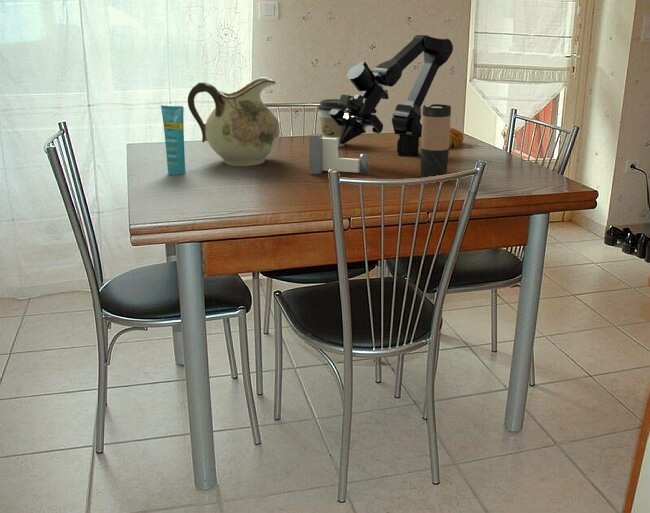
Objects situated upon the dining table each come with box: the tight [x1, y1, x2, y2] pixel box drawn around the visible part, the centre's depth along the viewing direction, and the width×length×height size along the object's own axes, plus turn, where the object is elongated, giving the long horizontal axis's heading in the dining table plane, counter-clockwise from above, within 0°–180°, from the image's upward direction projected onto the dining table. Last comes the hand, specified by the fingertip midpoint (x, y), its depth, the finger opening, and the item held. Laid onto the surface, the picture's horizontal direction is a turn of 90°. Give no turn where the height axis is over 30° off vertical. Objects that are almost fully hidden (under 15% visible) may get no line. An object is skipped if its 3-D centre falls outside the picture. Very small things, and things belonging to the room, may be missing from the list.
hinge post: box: [359, 153, 370, 175], centre depth 207 cm, size 2×2×6 cm
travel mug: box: [420, 103, 452, 178], centre depth 198 cm, size 8×8×20 cm
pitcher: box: [187, 76, 281, 167], centre depth 218 cm, size 22×24×25 cm
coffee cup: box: [317, 98, 349, 148], centre depth 246 cm, size 11×11×15 cm
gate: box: [322, 137, 360, 173], centre depth 208 cm, size 14×2×9 cm, turn 74°
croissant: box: [449, 126, 464, 149], centre depth 248 cm, size 14×16×8 cm
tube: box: [160, 104, 186, 176], centre depth 205 cm, size 7×5×19 cm, turn 72°
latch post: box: [308, 133, 323, 175], centre depth 206 cm, size 3×3×11 cm
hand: (340, 143), depth 214 cm, fingers closed
